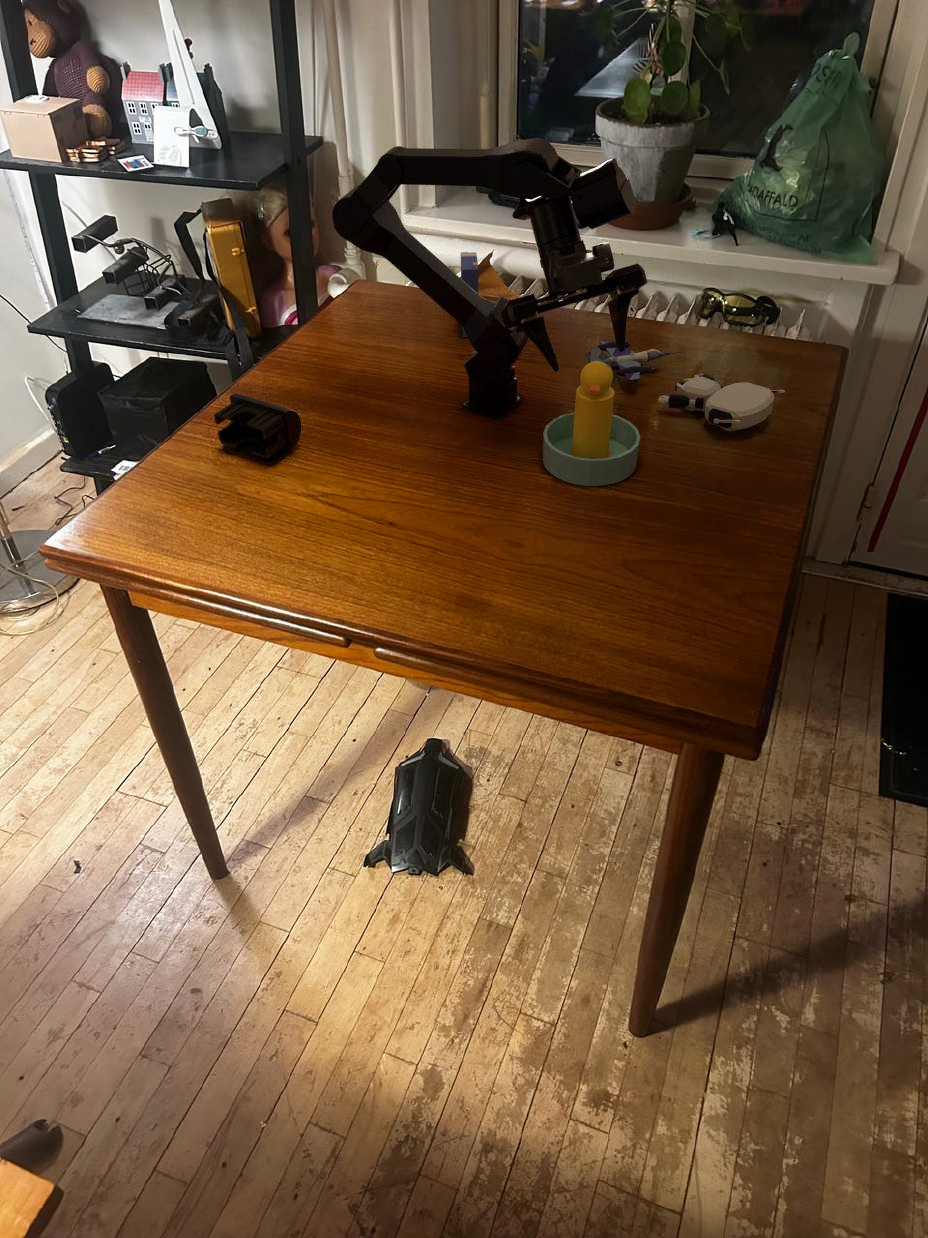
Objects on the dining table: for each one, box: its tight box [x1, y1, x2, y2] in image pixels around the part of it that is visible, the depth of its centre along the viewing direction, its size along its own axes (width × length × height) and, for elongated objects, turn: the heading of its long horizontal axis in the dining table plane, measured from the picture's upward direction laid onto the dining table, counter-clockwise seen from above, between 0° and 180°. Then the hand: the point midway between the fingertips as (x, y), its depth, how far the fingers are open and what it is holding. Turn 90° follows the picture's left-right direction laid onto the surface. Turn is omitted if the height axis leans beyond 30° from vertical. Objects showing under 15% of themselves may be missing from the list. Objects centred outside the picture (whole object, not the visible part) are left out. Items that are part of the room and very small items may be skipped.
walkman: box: [460, 251, 479, 338], centre depth 158 cm, size 8×3×12 cm, turn 1°
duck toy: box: [570, 361, 615, 459], centre depth 123 cm, size 6×6×14 cm
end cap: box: [213, 393, 302, 467], centre depth 130 cm, size 10×7×7 cm
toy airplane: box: [585, 339, 682, 382], centre depth 147 cm, size 13×14×4 cm
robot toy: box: [657, 373, 786, 432], centre depth 136 cm, size 12×4×15 cm
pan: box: [541, 411, 641, 487], centre depth 127 cm, size 13×13×4 cm
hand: (589, 361), depth 124 cm, fingers open, 9 cm apart
